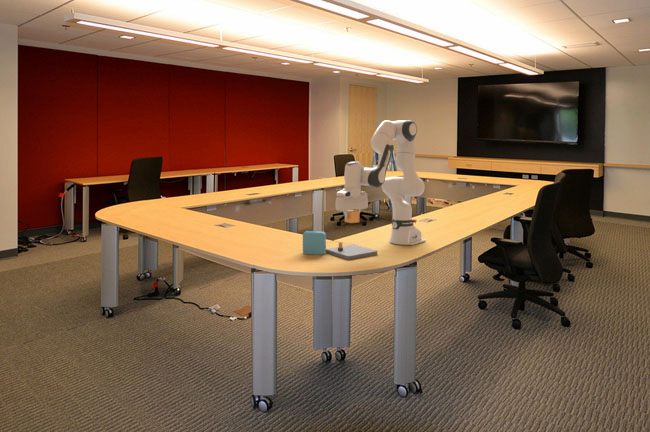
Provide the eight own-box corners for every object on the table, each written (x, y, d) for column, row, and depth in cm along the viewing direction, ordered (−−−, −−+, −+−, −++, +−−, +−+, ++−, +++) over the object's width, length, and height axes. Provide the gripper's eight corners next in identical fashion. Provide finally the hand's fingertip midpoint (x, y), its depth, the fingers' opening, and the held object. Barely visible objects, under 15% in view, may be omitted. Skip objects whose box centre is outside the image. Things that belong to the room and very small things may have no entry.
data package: (325, 253, 281) (325, 231, 278) (324, 255, 276) (324, 233, 274) (304, 252, 283) (304, 230, 281) (302, 254, 278) (302, 232, 276)
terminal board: (353, 247, 293) (353, 236, 292) (377, 254, 277) (377, 242, 276) (325, 252, 281) (325, 241, 280) (348, 260, 265) (348, 247, 264)
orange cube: (352, 220, 278) (352, 209, 277) (359, 222, 274) (359, 211, 273) (344, 221, 275) (344, 210, 274) (351, 223, 271) (351, 211, 270)
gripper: (363, 190, 281) (362, 215, 283) (333, 192, 269) (333, 218, 271) (371, 191, 276) (370, 217, 278) (341, 193, 264) (340, 220, 266)
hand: (351, 218), depth 274 cm, fingers closed on orange cube, 6 cm apart
